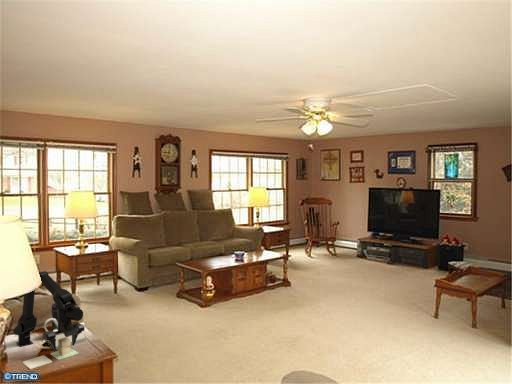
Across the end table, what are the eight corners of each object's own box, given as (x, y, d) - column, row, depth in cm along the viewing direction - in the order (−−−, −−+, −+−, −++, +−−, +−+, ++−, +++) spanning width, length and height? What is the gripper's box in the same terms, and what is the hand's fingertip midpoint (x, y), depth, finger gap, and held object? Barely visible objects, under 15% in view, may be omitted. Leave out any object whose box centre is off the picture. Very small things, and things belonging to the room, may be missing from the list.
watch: (61, 337, 232) (60, 318, 231) (45, 341, 226) (45, 321, 226) (57, 334, 236) (57, 315, 235) (42, 338, 230) (42, 319, 230)
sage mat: (50, 354, 211) (50, 353, 211) (69, 348, 219) (69, 347, 218) (58, 360, 204) (58, 359, 204) (78, 353, 212) (78, 352, 212)
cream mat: (22, 362, 201) (22, 361, 201) (43, 355, 209) (43, 355, 209) (30, 369, 195) (30, 368, 195) (52, 362, 202) (52, 361, 202)
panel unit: (46, 343, 224) (45, 325, 224) (75, 334, 236) (75, 318, 236) (55, 349, 216) (55, 331, 216) (85, 340, 228) (85, 323, 228)
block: (58, 352, 212) (58, 339, 211) (66, 350, 215) (66, 337, 214) (62, 355, 208) (62, 342, 208) (70, 353, 211) (70, 339, 211)
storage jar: (66, 325, 251) (66, 300, 250) (73, 329, 244) (73, 304, 243) (49, 329, 244) (48, 304, 243) (55, 334, 237) (55, 308, 236)
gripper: (51, 326, 198) (51, 358, 199) (89, 316, 212) (89, 347, 213) (42, 321, 206) (42, 352, 206) (79, 311, 220) (79, 341, 220)
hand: (64, 348), depth 211 cm, fingers open, 9 cm apart
